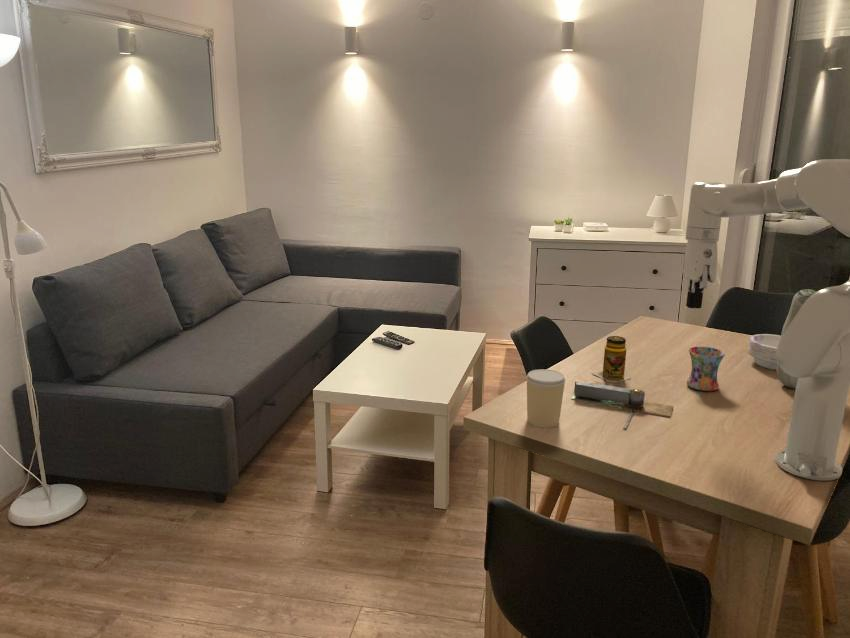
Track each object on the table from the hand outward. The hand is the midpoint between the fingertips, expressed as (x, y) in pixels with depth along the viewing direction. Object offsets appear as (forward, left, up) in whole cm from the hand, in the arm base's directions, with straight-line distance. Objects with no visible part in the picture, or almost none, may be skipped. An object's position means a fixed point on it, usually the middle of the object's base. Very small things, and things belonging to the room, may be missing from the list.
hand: (693, 307), depth 174 cm
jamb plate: (-10, +8, -27) cm, 30 cm away
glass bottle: (+31, -27, -27) cm, 49 cm away
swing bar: (-4, +18, -26) cm, 32 cm away
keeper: (-3, +21, -27) cm, 34 cm away
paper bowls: (+49, -22, -27) cm, 60 cm away
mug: (+20, -4, -27) cm, 34 cm away
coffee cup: (-24, +30, -27) cm, 47 cm away
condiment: (+16, +21, -27) cm, 38 cm away
